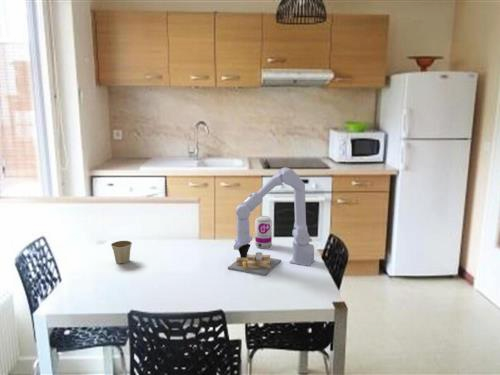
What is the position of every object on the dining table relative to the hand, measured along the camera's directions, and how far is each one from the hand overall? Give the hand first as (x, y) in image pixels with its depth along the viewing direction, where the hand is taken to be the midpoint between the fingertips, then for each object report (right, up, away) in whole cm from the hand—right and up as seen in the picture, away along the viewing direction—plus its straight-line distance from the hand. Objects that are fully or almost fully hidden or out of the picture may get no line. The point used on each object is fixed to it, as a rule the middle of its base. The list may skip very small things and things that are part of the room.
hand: (243, 259), depth 196 cm
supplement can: (+10, +3, +24) cm, 26 cm away
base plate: (+5, -2, -1) cm, 6 cm away
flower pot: (-56, -2, +5) cm, 56 cm away
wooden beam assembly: (+4, -1, -2) cm, 5 cm away
